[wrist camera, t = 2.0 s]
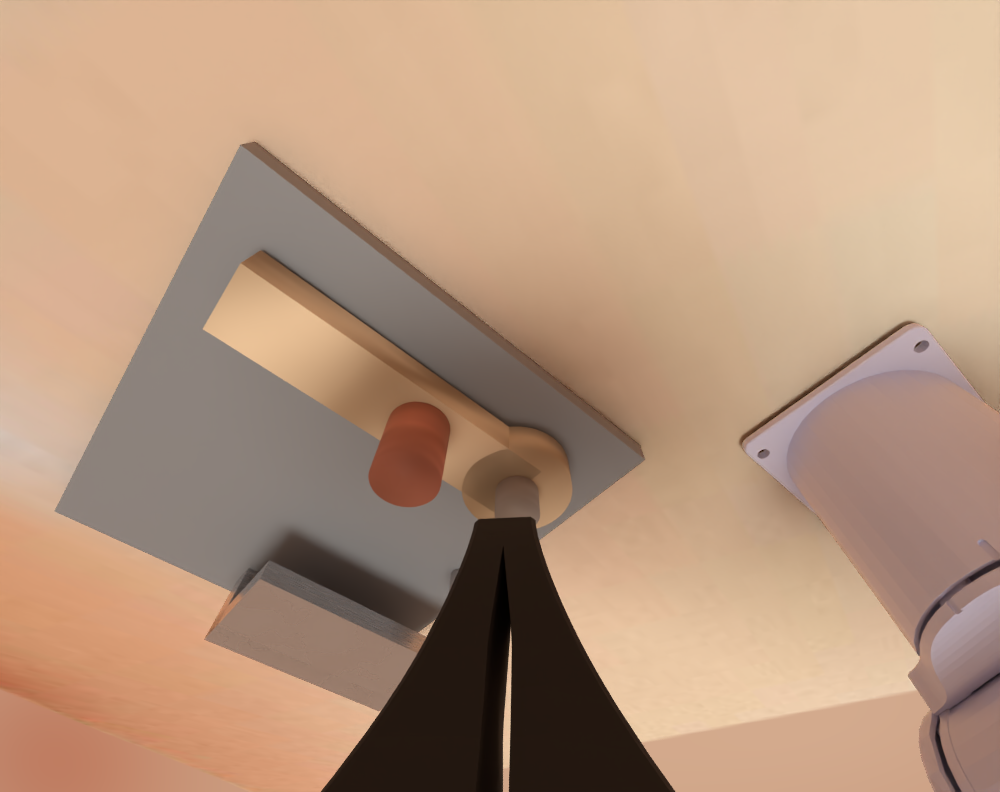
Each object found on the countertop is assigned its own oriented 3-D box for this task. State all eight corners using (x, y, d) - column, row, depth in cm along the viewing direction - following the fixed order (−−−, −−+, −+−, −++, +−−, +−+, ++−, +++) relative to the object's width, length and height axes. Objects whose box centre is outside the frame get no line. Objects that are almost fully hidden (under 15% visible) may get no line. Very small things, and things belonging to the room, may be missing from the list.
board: (639, 445, 22) (663, 508, 19) (385, 644, 31) (370, 712, 28) (254, 142, 16) (186, 155, 13) (70, 496, 25) (0, 561, 21)
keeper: (452, 591, 28) (444, 666, 25) (394, 637, 31) (378, 711, 27) (296, 507, 25) (259, 579, 21) (245, 566, 27) (204, 639, 24)
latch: (590, 465, 22) (608, 545, 18) (520, 521, 23) (522, 605, 20) (271, 231, 16) (199, 274, 13) (215, 327, 18) (137, 389, 15)
